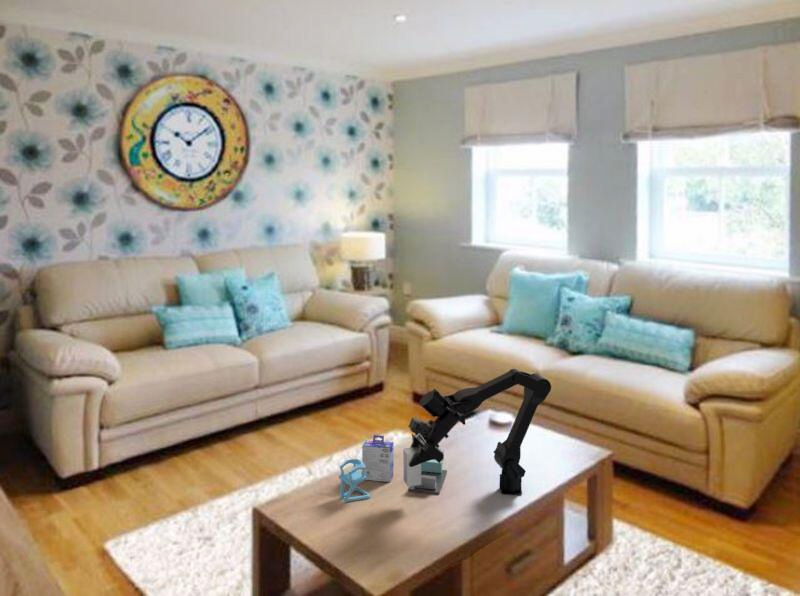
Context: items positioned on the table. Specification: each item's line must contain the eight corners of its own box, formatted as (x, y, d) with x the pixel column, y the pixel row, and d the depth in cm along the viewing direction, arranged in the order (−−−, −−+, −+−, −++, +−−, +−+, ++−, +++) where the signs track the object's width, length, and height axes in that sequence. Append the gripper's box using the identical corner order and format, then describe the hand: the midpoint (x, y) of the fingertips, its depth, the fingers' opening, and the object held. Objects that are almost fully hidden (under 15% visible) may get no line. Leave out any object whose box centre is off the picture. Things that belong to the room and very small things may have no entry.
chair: (335, 496, 207) (334, 461, 205) (357, 488, 212) (356, 454, 210) (348, 505, 201) (347, 469, 199) (370, 497, 206) (370, 462, 204)
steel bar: (417, 478, 204) (417, 446, 202) (421, 484, 200) (421, 452, 198) (403, 480, 203) (403, 448, 201) (407, 486, 199) (407, 454, 197)
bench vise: (418, 469, 225) (418, 457, 225) (447, 472, 223) (447, 459, 222) (408, 491, 210) (408, 477, 209) (439, 494, 208) (439, 481, 207)
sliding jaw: (427, 457, 233) (427, 448, 232) (446, 459, 231) (446, 449, 230) (421, 471, 222) (421, 461, 221) (441, 473, 221) (441, 463, 220)
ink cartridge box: (394, 475, 221) (394, 435, 219) (390, 482, 216) (390, 441, 213) (366, 472, 223) (365, 432, 221) (362, 480, 218) (361, 439, 215)
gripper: (416, 399, 207) (382, 435, 206) (433, 420, 189) (397, 460, 189) (439, 420, 210) (407, 456, 210) (459, 443, 193) (423, 482, 192)
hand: (407, 462), depth 200 cm, fingers closed on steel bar, 4 cm apart
